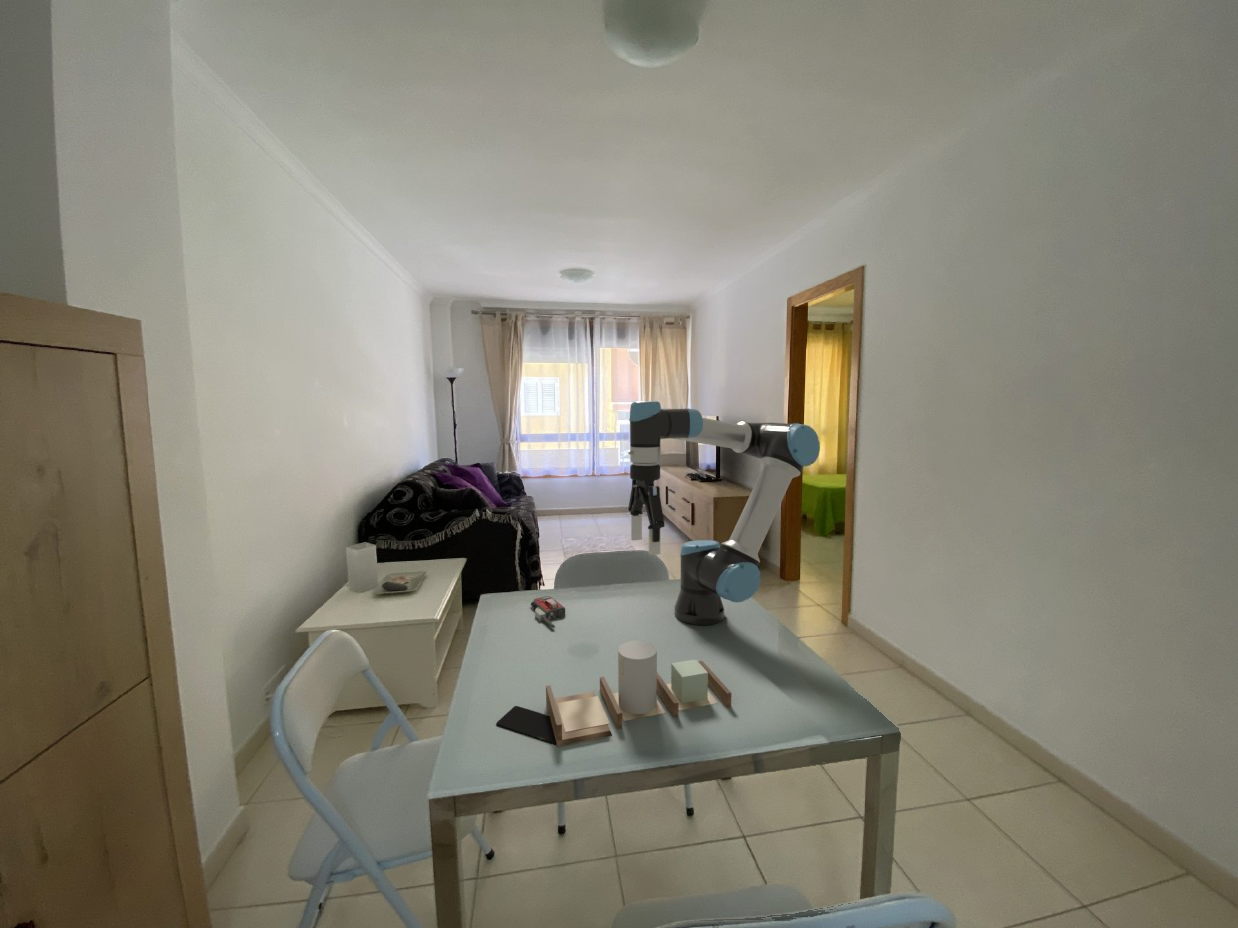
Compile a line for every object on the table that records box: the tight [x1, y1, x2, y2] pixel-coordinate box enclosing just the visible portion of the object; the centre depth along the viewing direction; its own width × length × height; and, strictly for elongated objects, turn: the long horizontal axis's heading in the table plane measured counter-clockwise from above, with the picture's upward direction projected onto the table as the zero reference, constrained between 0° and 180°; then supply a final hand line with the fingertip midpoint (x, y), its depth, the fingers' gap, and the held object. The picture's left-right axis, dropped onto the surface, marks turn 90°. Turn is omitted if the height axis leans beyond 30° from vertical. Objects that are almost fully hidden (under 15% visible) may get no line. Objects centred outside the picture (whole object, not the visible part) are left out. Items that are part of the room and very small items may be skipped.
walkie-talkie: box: [530, 595, 566, 629], centre depth 156 cm, size 9×4×20 cm
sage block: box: [670, 659, 709, 703], centre depth 111 cm, size 6×6×6 cm
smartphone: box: [495, 705, 557, 746], centre depth 103 cm, size 7×1×15 cm
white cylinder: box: [617, 640, 658, 714], centre depth 108 cm, size 8×8×12 cm
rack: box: [545, 660, 732, 748], centre depth 108 cm, size 37×14×4 cm, turn 106°
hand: (645, 546), depth 129 cm, fingers open, 13 cm apart
